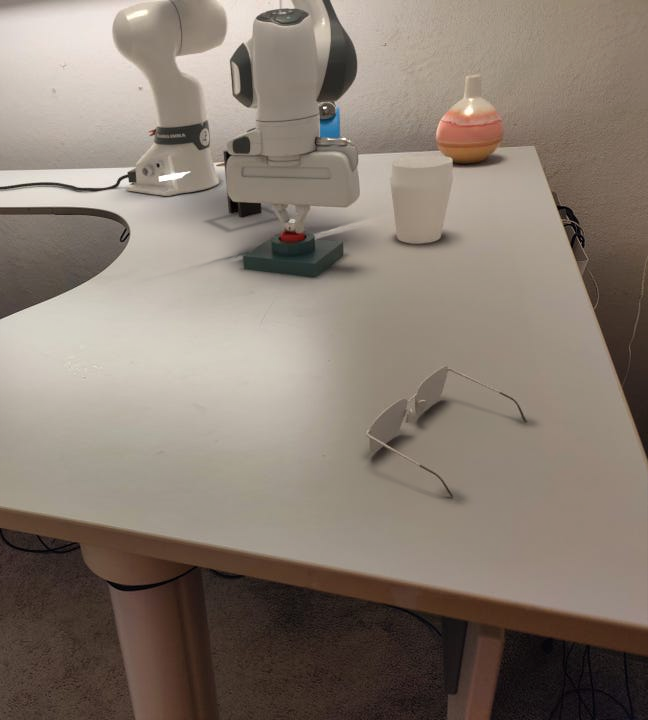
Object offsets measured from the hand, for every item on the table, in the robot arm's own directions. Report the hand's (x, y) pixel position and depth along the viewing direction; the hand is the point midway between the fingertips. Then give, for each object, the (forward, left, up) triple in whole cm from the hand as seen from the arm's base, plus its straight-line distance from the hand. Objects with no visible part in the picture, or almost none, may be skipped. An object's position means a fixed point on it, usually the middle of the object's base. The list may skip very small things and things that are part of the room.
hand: (292, 232), depth 100 cm
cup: (+14, +16, -5) cm, 22 cm away
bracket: (-20, +19, -5) cm, 28 cm away
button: (0, 0, -2) cm, 2 cm away
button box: (0, 0, -5) cm, 5 cm away
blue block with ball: (-23, +62, -5) cm, 66 cm away
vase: (+7, +70, -5) cm, 71 cm away
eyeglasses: (+34, -37, -5) cm, 50 cm away
